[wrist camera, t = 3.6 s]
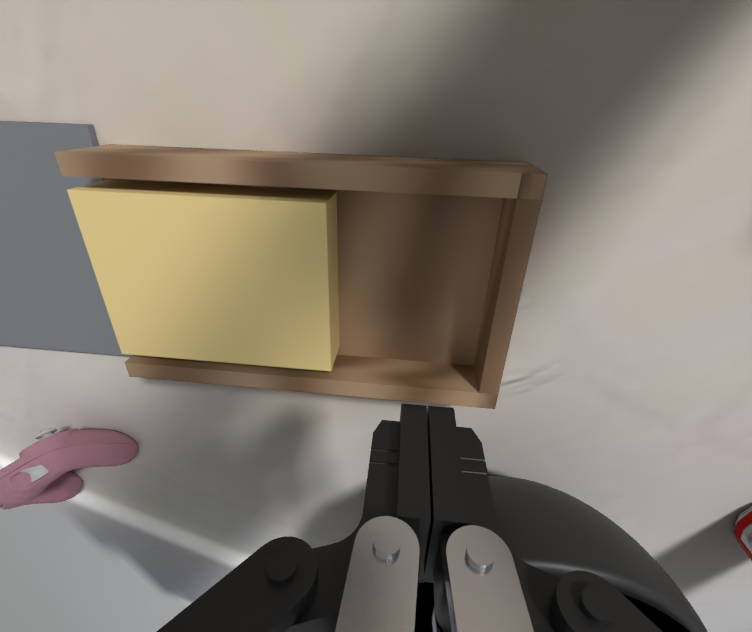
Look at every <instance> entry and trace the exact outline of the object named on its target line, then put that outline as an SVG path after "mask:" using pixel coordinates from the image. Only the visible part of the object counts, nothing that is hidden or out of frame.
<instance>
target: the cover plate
mask: <svg viewBox="0 0 752 632" xmlns="http://www.w3.org/2000/svg"><path fill="white" fill-rule="evenodd" d="M67 192H68V195H69V198H70V201H71V204H72V207H73V210H74V213H75V216H76V219H77V222H78V225H79V228H80V231H81V234H82V237H83V239H84V242H85V245H86V248H87V251H88V254H89V257H90V260H91V263H92V266H93V269H94V272H95V275H96V278H97V281H98V284H99V287H100V290H101V293H102V296H103V299H104V302H105V305H106V308H107V311H108V314H109V317H110V320H111V323H112V326H113V329H114V332H115V335H116V338H117V341H118V344H119V347H120V350H121V353H122V354H131V355H142V356H154V357H166V358H178V359H190V360H202V361H214V362H226V363H238V364H249V365H261V366H273V367H285V368H297V369H309V370H321V371H332V368H333V365H334V362H335V359H336V356H337V353H338V350H339V347H340V344H339V291H338V237H337V192H331V191H311V190H291V189H271V188H251V187H231V186H211V185H191V184H171V183H151V182H131V181H111V180H104V181H100V182H96V183H92V184H88V185H84V186H80V187H76V188H72V189H68V190H67Z"/></svg>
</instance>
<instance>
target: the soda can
mask: <svg viewBox="0 0 752 632" xmlns="http://www.w3.org/2000/svg"><path fill="white" fill-rule="evenodd" d="M735 525H736V527H735V530H734V534H735V537H736V539H737V541H738V542H739V544H740V545H741V546H742V548H743V549H744V551H745V552H746V553H747V555H748V556H749V558H750V559H751V560H752V506H750V507H749V508H748V509H746V510H745V511H744V512H742V513H741V514H739V516H738V518H737V520H736V522H735Z"/></svg>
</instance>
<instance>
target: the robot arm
mask: <svg viewBox="0 0 752 632" xmlns="http://www.w3.org/2000/svg"><path fill="white" fill-rule="evenodd" d="M422 570H423V582H430V583H434V609H433V614H432V627H433V632H662V631H661V630H660V629H659V628H658V627H657V626H656V625H655V624H654V623H653V622H652V621H651V620H650V619H649V618H647V617H646V616H645V615H644V614H643V613H642V612H641V611H640V610H639V609H638V608H637V607H636V606H635V605H633V604H632V603H631V602H630V601H629V600H628V599H627V598H626V597H625V596H624V595H623V594H622V593H621V592H619V591H618V590H617V589H616V588H615V587H614V586H613V585H612V584H610V583H609V582H608V581H606V580H605V579H603V578H602V577H600V576H598V575H596V574H593V573H591V572H587V571H580V570H576V571H571V572H568V573H566V574H565V575H563V576H562V578H559V577H556V576H554V575H552V574H549V573H547V572H545V571H543V570H540V569H538V568H536V567H533V566H531V565H529V564H527V563H526V562H524V561H523V560H521V559H520V558H519V557H517V556H516V555H515V554H514V553H513V552H512V551H511V550H510V549H509V547H508V546H507V545H506V544H505V542H504V540H503V539H502V537H501V534H500V532H499V528H498V524H497V519H496V514H495V509H494V504H493V498H492V493H491V488H490V483H489V478H488V476H487V468H486V463H485V458H484V453H483V448H482V443H481V441H480V440H479V438H478V437H477V436H476V434H475V433H474V431H473V430H472V428H464V427H456V421H455V413H454V409H453V408H447V407H436V406H428V408H427V407H426V406H423V405H412V404H401V414H400V422H397V421H387V420H382V421H381V422H380V424H379V425H378V427H377V428H376V430H375V431H374V432H373V439H372V446H371V454H370V463H369V470H368V478H367V486H366V493H365V501H364V509H363V515H362V519H361V521H360V523H359V525H358V527H357V528H356V530H355V531H354V532H353V533H352V534H351V535H350V536H348V537H347V538H345V539H344V540H342V541H340V542H338V543H334V544H331V545H327V546H322V547H318V548H314V549H312V548H311V547H310V546H309V545H308V544H307V543H306V542H305V541H303V540H301V539H298V538H295V537H281V538H277V539H274V540H272V541H270V542H268V543H266V544H265V545H263V546H262V547H261V548H260V549H258V550H257V551H256V552H255V553H253V554H252V555H251V556H250V557H248V558H247V559H246V560H245V561H244V562H242V563H241V564H240V565H239V566H237V567H236V568H235V569H234V570H232V571H231V572H230V573H229V574H227V575H226V576H225V577H224V578H223V579H221V580H220V581H219V582H218V583H216V584H215V585H214V586H213V587H211V588H210V589H209V590H208V591H206V592H205V593H204V594H203V595H201V596H200V597H199V598H198V599H197V600H195V601H194V602H193V603H192V604H190V605H189V606H188V607H187V608H185V609H184V610H183V611H182V612H181V613H179V614H178V615H177V616H176V617H174V618H173V619H172V620H171V621H169V622H168V623H167V624H166V625H164V626H163V627H162V628H161V629H159V630H158V631H157V632H414V628H415V613H416V598H417V587H418V581H419V582H420V581H421V576H422Z"/></svg>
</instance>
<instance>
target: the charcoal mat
mask: <svg viewBox="0 0 752 632" xmlns="http://www.w3.org/2000/svg"><path fill="white" fill-rule="evenodd" d="M94 146H99V145H98V141H97V137H96V134H95V130H94V127H93V125H91V124H65V123H40V122H14V121H0V345H3V346H15V347H27V348H39V349H51V350H62V351H74V352H86V353H98V354H110V355H122V356H133V355H131V354H122V353H121V350H120V347H119V344H118V341H117V338H116V335H115V332H114V329H113V326H112V323H111V320H110V317H109V314H108V311H107V308H106V305H105V302H104V299H103V296H102V293H101V290H100V287H99V284H98V281H97V278H96V275H95V272H94V269H93V266H92V263H91V260H90V257H89V254H88V251H87V248H86V245H85V242H84V239H83V237H82V234H81V231H80V228H79V225H78V222H77V219H76V216H75V213H74V210H73V207H72V204H71V201H70V198H69V195H68V192H67V190H68V189H72V188H76V187H80V186H84V185H88V184H92V183H96V182H100V181H104V180H105V178H92V177H72V176H62V174H61V171H60V168H59V165H58V162H57V159H56V156H55V153H54V152H58V151H65V150H72V149H80V148H87V147H94Z"/></svg>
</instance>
